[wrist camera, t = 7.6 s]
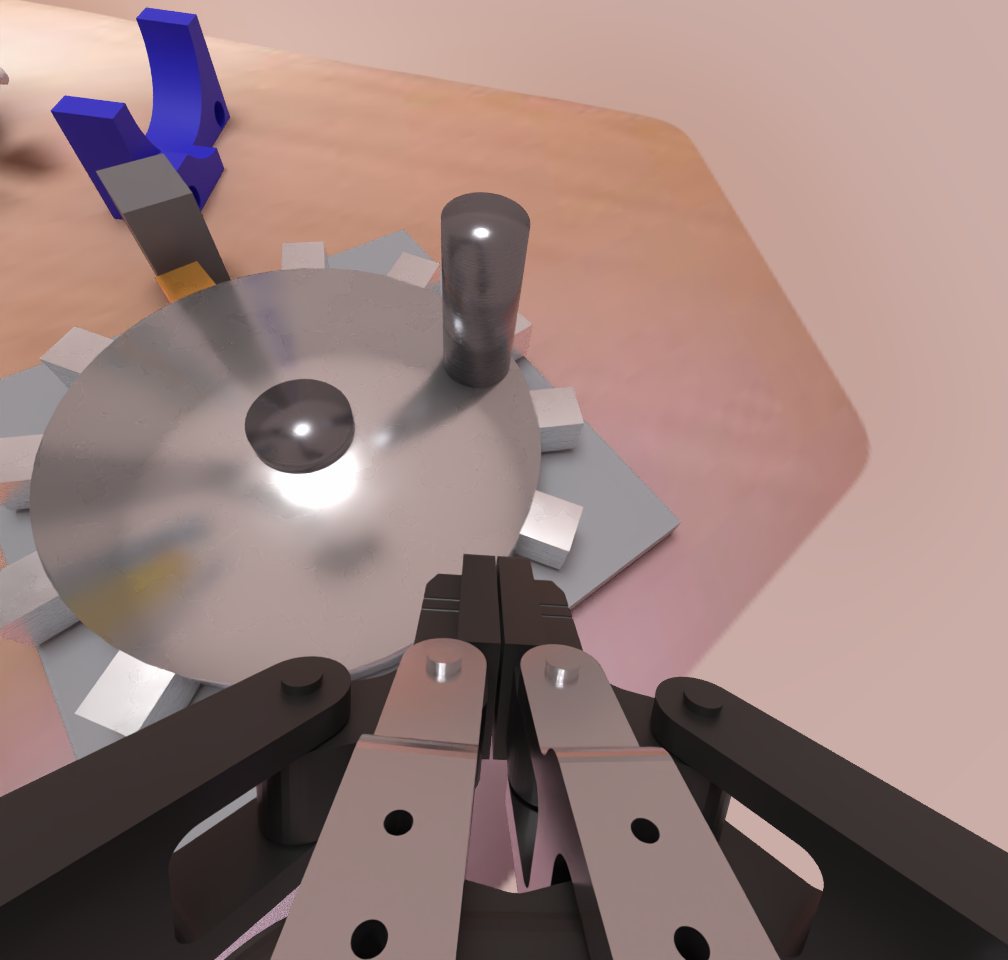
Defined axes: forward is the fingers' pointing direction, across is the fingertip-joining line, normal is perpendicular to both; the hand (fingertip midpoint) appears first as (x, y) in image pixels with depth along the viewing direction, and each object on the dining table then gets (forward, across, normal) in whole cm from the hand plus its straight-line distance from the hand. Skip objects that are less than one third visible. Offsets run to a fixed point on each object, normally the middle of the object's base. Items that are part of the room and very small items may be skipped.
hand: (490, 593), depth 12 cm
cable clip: (+29, +20, -14) cm, 38 cm away
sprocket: (+12, +7, 0) cm, 14 cm away
